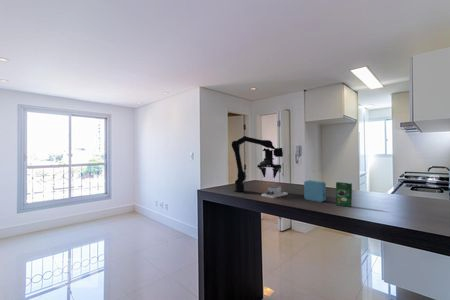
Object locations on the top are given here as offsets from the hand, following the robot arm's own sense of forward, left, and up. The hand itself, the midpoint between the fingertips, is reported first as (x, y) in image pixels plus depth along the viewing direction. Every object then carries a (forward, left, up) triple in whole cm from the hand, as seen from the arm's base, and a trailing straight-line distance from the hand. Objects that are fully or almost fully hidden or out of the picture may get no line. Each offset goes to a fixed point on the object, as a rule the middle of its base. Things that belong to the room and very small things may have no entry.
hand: (269, 177), depth 170 cm
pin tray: (+10, -7, -11) cm, 16 cm away
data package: (+37, -2, -11) cm, 39 cm away
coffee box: (+55, -4, -11) cm, 56 cm away
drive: (+10, -7, -10) cm, 16 cm away
